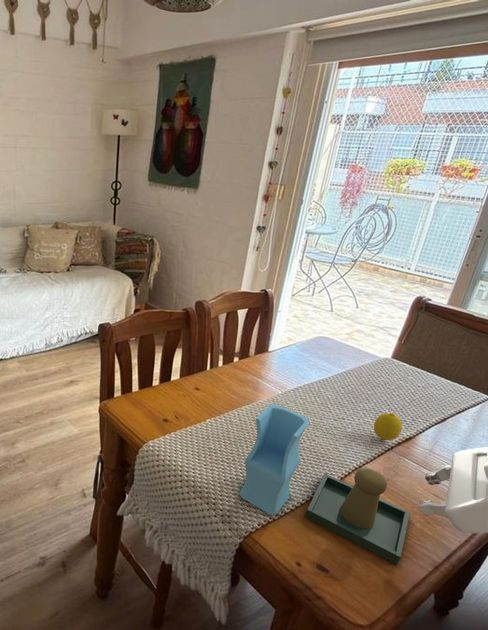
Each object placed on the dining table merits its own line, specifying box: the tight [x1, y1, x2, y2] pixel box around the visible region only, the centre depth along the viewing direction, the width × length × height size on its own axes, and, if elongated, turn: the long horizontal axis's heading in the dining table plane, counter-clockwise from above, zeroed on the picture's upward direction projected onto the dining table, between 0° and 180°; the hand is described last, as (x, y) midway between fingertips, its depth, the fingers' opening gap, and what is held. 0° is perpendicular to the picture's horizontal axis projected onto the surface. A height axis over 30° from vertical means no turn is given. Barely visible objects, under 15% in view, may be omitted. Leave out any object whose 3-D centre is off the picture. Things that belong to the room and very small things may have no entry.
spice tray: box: [304, 473, 411, 565], centre depth 88 cm, size 16×14×2 cm
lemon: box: [373, 412, 403, 441], centre depth 110 cm, size 6×6×8 cm
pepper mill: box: [340, 467, 388, 529], centre depth 86 cm, size 6×6×11 cm
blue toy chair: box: [239, 403, 311, 516], centre depth 89 cm, size 8×8×20 cm
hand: (424, 493), depth 79 cm, fingers open, 8 cm apart
